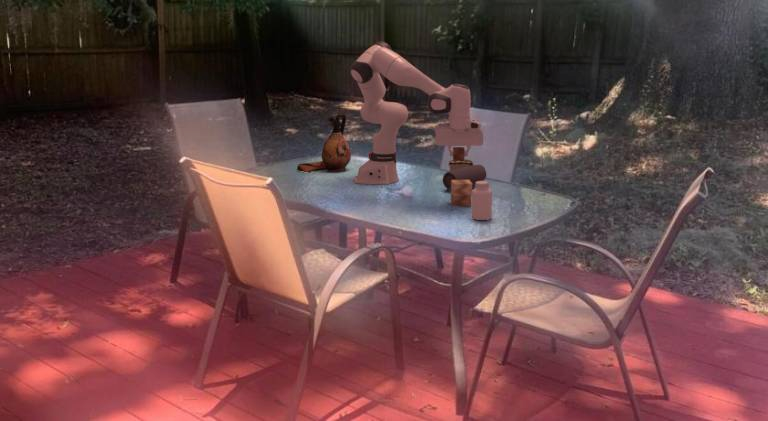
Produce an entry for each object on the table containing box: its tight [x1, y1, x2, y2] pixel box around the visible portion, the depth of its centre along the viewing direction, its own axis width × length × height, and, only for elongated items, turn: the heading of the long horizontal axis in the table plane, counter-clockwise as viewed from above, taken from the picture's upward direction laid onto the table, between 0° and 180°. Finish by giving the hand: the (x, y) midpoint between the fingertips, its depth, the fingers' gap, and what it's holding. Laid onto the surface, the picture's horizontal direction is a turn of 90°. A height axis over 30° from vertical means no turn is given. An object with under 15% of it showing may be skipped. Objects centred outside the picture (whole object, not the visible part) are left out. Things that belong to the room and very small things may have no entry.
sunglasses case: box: [296, 160, 327, 173], centre depth 364 cm, size 18×7×7 cm, turn 129°
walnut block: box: [452, 146, 466, 161], centre depth 288 cm, size 4×4×5 cm
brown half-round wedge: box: [447, 158, 474, 171], centre depth 337 cm, size 12×6×10 cm, turn 84°
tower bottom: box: [450, 191, 472, 208], centre depth 295 cm, size 8×8×5 cm
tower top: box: [450, 180, 473, 196], centre depth 293 cm, size 8×8×5 cm
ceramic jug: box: [321, 113, 352, 173], centre depth 358 cm, size 17×15×30 cm
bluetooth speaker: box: [442, 164, 487, 191], centre depth 322 cm, size 23×9×10 cm, turn 134°
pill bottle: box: [471, 180, 493, 221], centre depth 272 cm, size 8×8×15 cm
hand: (458, 155), depth 289 cm, fingers closed on walnut block, 4 cm apart
